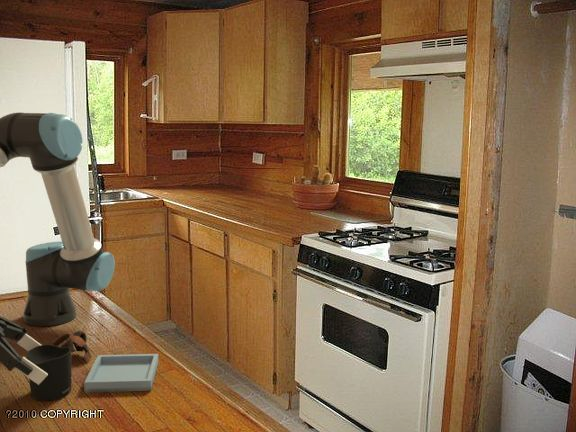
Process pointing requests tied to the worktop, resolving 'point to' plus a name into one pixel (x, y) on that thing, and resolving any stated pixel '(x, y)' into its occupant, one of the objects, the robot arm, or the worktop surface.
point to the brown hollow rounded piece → (75, 343)
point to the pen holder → (51, 372)
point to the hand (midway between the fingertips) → (43, 366)
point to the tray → (122, 373)
